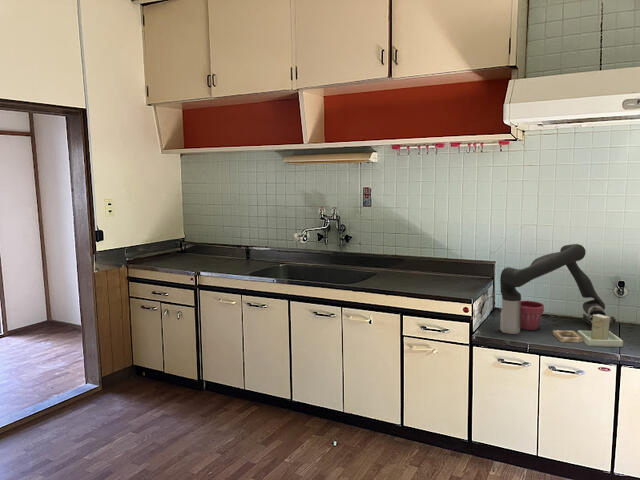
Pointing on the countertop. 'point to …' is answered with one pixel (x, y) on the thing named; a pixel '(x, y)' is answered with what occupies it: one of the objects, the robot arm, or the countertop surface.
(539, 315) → the plant pot
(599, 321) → the skincare box
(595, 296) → the robot arm
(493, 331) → the countertop surface
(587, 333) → the sage tray
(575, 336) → the wooden frame
